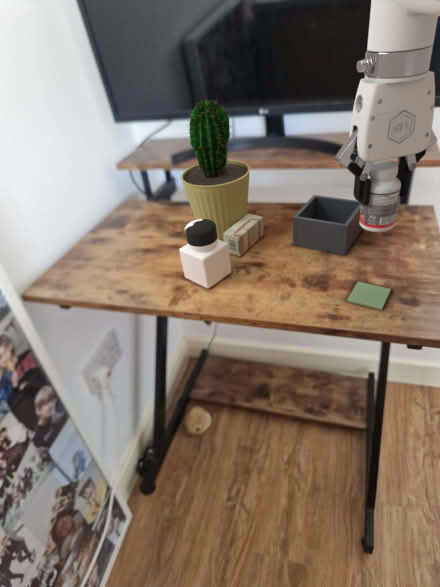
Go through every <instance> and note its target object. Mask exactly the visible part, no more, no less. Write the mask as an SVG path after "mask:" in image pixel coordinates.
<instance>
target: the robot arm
mask: <svg viewBox="0 0 440 587" xmlns="http://www.w3.org/2000/svg"><path fill="white" fill-rule="evenodd" d="M439 17H440V0H371V2H370V12H369V23H368V36H367V47H366V51H365V58H363V59H360V60H358V61H357V63H356V71H357V72H358V73H363V74H364V77H363V78H360V80H359V83H358V87H357V90H356V94H355V99H354V103H353V106H352V107H353V108H352V113H351V119H350V120H351V121H350V127H349V136H348V139H347V140H346V141H345V142H344V144H343V145H342V146H341V147H340V149H339V150H338V151H337V153H336V154H335V156H334V160H335V161H336V162H338V163H339V164H340V165H341V166H343V167H344V168H346V169H347V170H348V171H349V172H350V173H351V174H352V175H353V176H354V183H353V193H352V194H353V197H354V199H355V200H356V201H358V202H360V203H361V204H362V205H364V206H365V205H368V204H369V198H370V190H371V180H370V179H369V178H368V177H369V174H370V171H371V169H372V166H373V164H374V162H378V161H384V160H386V161H389V160H392V159H397V162H398V163H397V164H398V174H397V176H396V177H397V178H398V179H399V180H400V182H401V188H400V194H399V198H400V197H401V198H406V197H407V195H408V190H409V188H410V181H411V176H412V171H413V172H414V170H415V169H417V166H418V163H419V162H420V161H421V160H422V159H423V157H424V156H425V155H426V153H427V152H428V151H429V150H430V149H431V148H432V147H433V146H434V145H435V144H436V143H437V141H438V138H437V136H436V134H435V133H434V132H433V122H434V116H435V115H434V114H435V102H436V81H435V72H434V71H431V70H430V65H431V60H432V54H433V48H434V42H435V37H436V30H437V24H438V18H439ZM352 155H357V156H356V157H355V160H353V159H351V156H352Z"/></svg>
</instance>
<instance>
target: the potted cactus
mask: <svg viewBox="0 0 440 587" xmlns="http://www.w3.org/2000/svg"><path fill="white" fill-rule="evenodd" d="M218 100H219V99H215V100H212V99H207V98H205V100H203V99H201V100H200V101H199V102H195V106H194V108H193V110H191V112H190V111H188V113H187V114H185V115H186V116H187V117H188V118H189V119H190V120H189V122H188V123H187V124H186V126H185V127H186V128H188V129H187V131H188V134H189V136H188V138H189V139H190V140H189V147H191V148H192V149H193V150H192V151H194V154H195V162H196V164H194V165H192V166H190V167H188V168H187V169H185V170H184V171H183V172H182V173H181V175H180V179H181V183H182V186H183V189H184V192H185V194H186V198H187V200H188V203H189V206H190V209H191V213H192V215H193V219H194V220H198V219H209V220H212V221H213V222H214V223H215V224H216V229H217V236H218V240H220V241H223V242H224V234H223V233H224V232H225V231H227V230H228V229H229V228H230V227H232V226H233V225H234V224H235V223H237V222H238V221H239V220H240V219H241V218H243V217H244V216H245V215H246V214H248V201H249V188H250V187H249V186H250V172H251V166H250V165H249V164H247V163H246V162H243V161H241V160H237V159H228V153H229V148H228V147H227V145H228V143H229V142H230V138H231V136H233V135H235V134H234V133H235V131H234V132H231V130H230V129H231V128H233V125H231V124H230V117H231V116H233V115H231V114H232V112H229V114H228V113H227V112H226V110H225V108H224V107H225V105H223V106H222V107H221V106H220V104H219V103H218ZM229 145H231V146H232V144H231V143H229Z"/></svg>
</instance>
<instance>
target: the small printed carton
mask: <svg viewBox="0 0 440 587" xmlns="http://www.w3.org/2000/svg"><path fill="white" fill-rule="evenodd" d="M264 230H265V229H264V216H261V215H257V214H252V213H248V212H247V214H246V215H245V216H244V217H243V218H241V219H240V220H239V221H238V222H237V223H235V224H234V225H233V226H232V227H230V228H229V229H228V230H227V231H225V232H224V233H223V234H224V242H226V243H228V247H229V255H230V254H231V255H234V256H238V257H242V256H243V254H245V253H246V252H247V251H248V250H249V249H250V248H252V246H254V245H255V244H256V242H258V241H259V240H260V239H261V238H262V237H263V236H264Z"/></svg>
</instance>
